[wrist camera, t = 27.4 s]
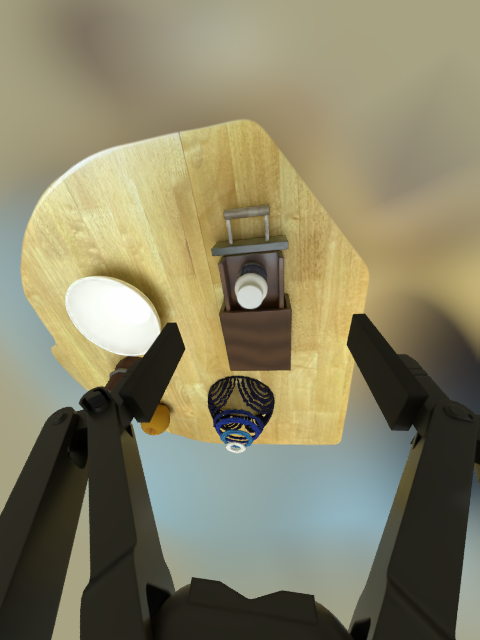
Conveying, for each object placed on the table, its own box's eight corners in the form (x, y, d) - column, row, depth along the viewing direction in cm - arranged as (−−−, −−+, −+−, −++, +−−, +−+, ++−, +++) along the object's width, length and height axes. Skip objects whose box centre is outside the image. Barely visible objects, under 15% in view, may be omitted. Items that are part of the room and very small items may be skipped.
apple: (151, 395, 67) (136, 421, 59) (177, 403, 68) (166, 430, 61) (147, 409, 72) (134, 435, 64) (172, 417, 73) (161, 443, 65)
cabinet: (224, 298, 44) (218, 313, 39) (288, 294, 42) (291, 309, 37) (234, 351, 53) (230, 371, 47) (287, 350, 51) (290, 370, 45)
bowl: (188, 319, 48) (178, 336, 43) (135, 348, 56) (120, 366, 50) (125, 246, 40) (103, 256, 35) (72, 291, 47) (46, 305, 42)
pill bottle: (237, 261, 38) (230, 281, 30) (267, 259, 37) (267, 280, 29) (240, 288, 41) (233, 313, 32) (267, 287, 40) (268, 312, 32)
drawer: (211, 210, 35) (204, 213, 31) (285, 200, 33) (288, 202, 29) (228, 310, 45) (224, 322, 41) (285, 307, 43) (287, 319, 39)
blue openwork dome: (245, 424, 71) (241, 472, 59) (197, 398, 65) (182, 445, 53) (287, 399, 61) (293, 451, 49) (235, 366, 56) (227, 415, 44)
